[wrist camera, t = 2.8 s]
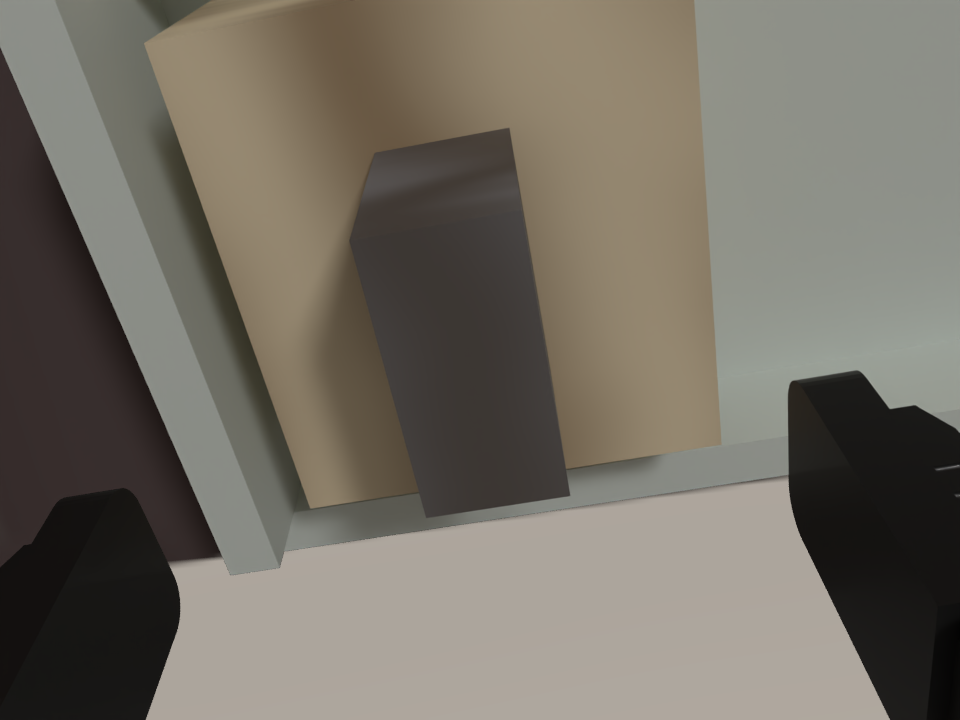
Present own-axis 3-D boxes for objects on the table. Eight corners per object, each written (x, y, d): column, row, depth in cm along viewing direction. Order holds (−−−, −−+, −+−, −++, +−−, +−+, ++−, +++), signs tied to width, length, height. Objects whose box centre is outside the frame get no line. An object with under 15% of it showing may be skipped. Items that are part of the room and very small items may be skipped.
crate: (638, -89, 18) (762, -36, 11) (674, 333, 23) (777, 578, 16) (216, -3, 19) (45, 104, 11) (338, 388, 24) (277, 650, 16)
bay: (1379, -426, 17) (1782, -543, 12) (1199, 317, 25) (1392, 443, 20) (71, -138, 19) (-77, -130, 14) (288, 462, 27) (246, 611, 22)
